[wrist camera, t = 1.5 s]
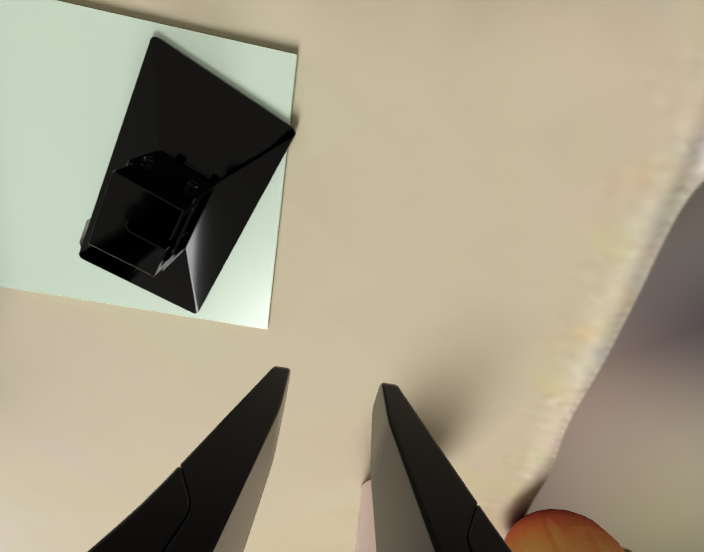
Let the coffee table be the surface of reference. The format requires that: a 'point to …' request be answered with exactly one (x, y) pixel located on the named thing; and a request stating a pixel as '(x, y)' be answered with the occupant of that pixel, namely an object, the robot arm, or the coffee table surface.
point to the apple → (559, 534)
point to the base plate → (111, 150)
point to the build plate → (182, 178)
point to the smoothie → (365, 521)
